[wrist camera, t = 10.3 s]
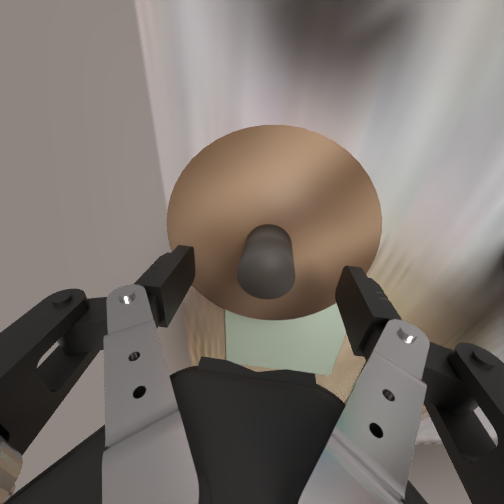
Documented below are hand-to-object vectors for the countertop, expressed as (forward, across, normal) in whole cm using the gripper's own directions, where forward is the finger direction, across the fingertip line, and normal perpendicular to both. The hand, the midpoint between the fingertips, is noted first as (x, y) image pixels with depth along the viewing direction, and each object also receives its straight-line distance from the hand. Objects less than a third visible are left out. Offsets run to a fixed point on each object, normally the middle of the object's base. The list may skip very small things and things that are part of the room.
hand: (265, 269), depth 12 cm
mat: (+10, -4, +16) cm, 19 cm away
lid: (+4, 0, 0) cm, 4 cm away
